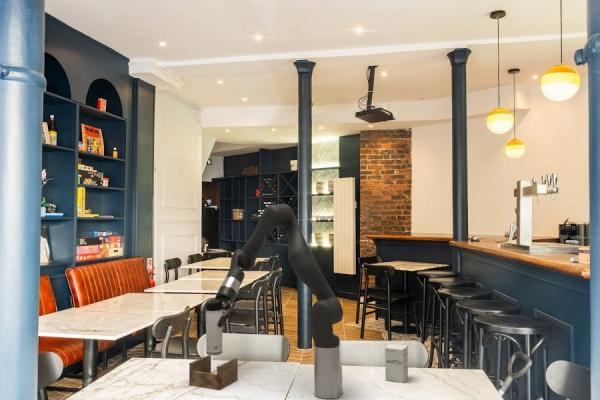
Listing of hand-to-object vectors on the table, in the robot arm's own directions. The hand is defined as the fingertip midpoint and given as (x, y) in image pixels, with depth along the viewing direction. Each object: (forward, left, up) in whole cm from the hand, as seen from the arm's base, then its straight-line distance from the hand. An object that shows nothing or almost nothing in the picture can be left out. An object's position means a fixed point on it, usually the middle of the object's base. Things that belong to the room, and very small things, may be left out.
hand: (211, 325), depth 177 cm
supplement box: (-64, -32, -22) cm, 75 cm away
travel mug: (0, -2, -11) cm, 11 cm away
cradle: (0, -1, -22) cm, 22 cm away
